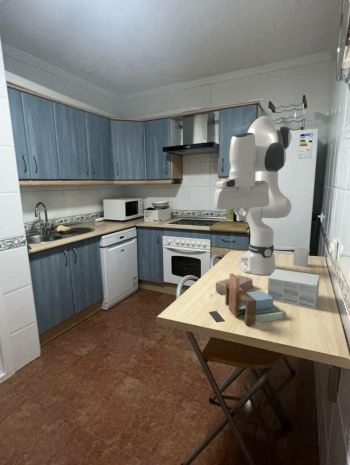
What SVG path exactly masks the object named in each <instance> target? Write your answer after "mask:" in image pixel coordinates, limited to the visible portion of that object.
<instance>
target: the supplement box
mask: <svg viewBox="0 0 350 465" xmlns="http://www.w3.org/2000/svg"><path fill="white" fill-rule="evenodd" d="M267 280H268V281H267V294H268V295H269V296H271V297H272V298H273V302H278V303H283V304H288V305H293V306H298V307H302V308H306V309H312V310H316V307H317V304H318V303H317V302H318V299H319V289H320V275H319V274H313V273H307V272H306V273H305V272H301V271H300V272H298V271H293V270H284V269H275V270H274V272H273V273H272V274H269V276H268V279H267Z"/></svg>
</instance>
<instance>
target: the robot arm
mask: <svg viewBox="0 0 350 465" xmlns="http://www.w3.org/2000/svg"><path fill="white" fill-rule="evenodd" d="M292 138H293V137H292V132H291V130H290V128H289V127H288V126H279V127H277V126H276V123H275V120H274V118H272V117H271V116H268V115H262V116H259V117H258V118H256V119H255V120H254V121H253V122H252V123H251V125H250V126H249V128H248V130H247V132H244V133H236V134H234V135H233V136H232V137H231V140H230V147H229V165H230V169H229V174H228V175H229V176H228V177H225V178H224V179H223V178H222V179H220V180H218V181H216V184H215V187H216V189H215V191H214V195H213V207H214V209H215V210H219V211H221V210H223V211H224V210H233V212H234V214H235V215H236V221H237V222H241V221H242V222H245V221H246V222H247V224H248V226H249V230H250V243H249V244H248V245H247V246H248V249H247V251H245V252H244V253H243V254H242V255H241V256H240V260H241V261H238V262H237V263H236V265H237V267H238V268H239V269H241V271H243V272H244V273H247V274H253V275H261V276H267V275H269V276H270V275H271V274H272V273H273V272H274V270H275V269H277V268H278V267H276V256H275V253H274V252H275V245H274V236H275V235H274V229H273V228H272V227H271V226H269V225H267V224H266V223H264V222H263V219H281V218H287V217H288V216H289V214H290V213H291V211H292V202H291V201H290V199H289V198H288V197H286V196H285V194H283V193H282V191H281V189H280V187H279V171H280V170H281V169H282V168H283V167H285V165H286V160H287V149H288V147H289V146H290V144H291V142H292Z"/></svg>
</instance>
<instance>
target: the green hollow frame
mask: <svg viewBox="0 0 350 465" xmlns="http://www.w3.org/2000/svg"><path fill="white" fill-rule="evenodd" d="M273 309H276V312H275V313H268V314H261V315H256V320H255V323H261V322H268V321H275V320H280V319H281V320H282V319H286V314H287V312H286V311H284V310H283V309H281V308H280V307H279V306H277V305H276V304H275V303H273Z"/></svg>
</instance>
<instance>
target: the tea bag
mask: <svg viewBox="0 0 350 465" xmlns="http://www.w3.org/2000/svg"><path fill="white" fill-rule="evenodd" d="M292 260H293V261H292V262H293V263H292V266H294V267H301V268H308V266H309V248H304V247H298V246H297V247H296V246H295V247H294V252H293V259H292Z"/></svg>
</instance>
